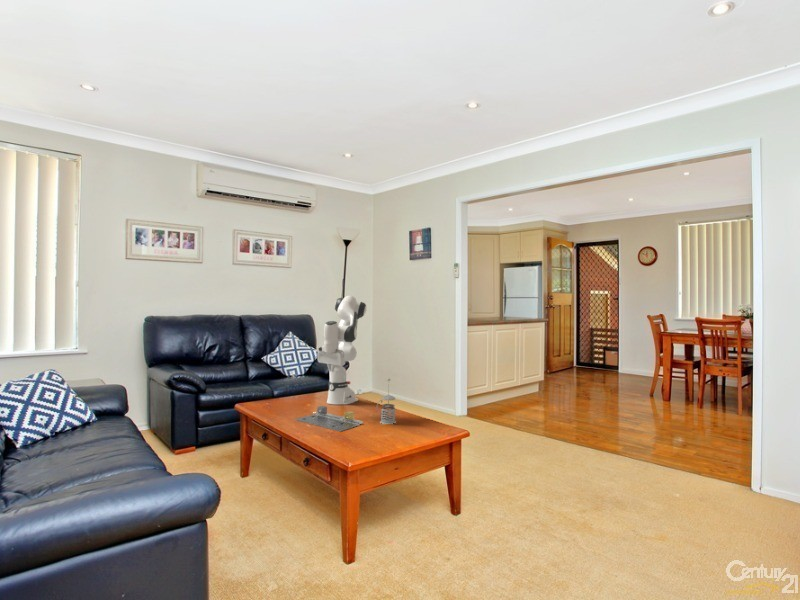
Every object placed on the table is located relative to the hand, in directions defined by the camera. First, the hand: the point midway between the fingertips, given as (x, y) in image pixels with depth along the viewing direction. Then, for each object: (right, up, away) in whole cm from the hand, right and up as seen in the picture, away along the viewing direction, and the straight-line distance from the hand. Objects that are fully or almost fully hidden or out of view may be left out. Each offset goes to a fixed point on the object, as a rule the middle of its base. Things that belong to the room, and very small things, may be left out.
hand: (331, 371), depth 276 cm
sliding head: (+11, -24, -16) cm, 31 cm away
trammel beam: (+4, -26, -11) cm, 29 cm away
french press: (+34, -27, -14) cm, 45 cm away
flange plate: (0, -26, -17) cm, 31 cm away
